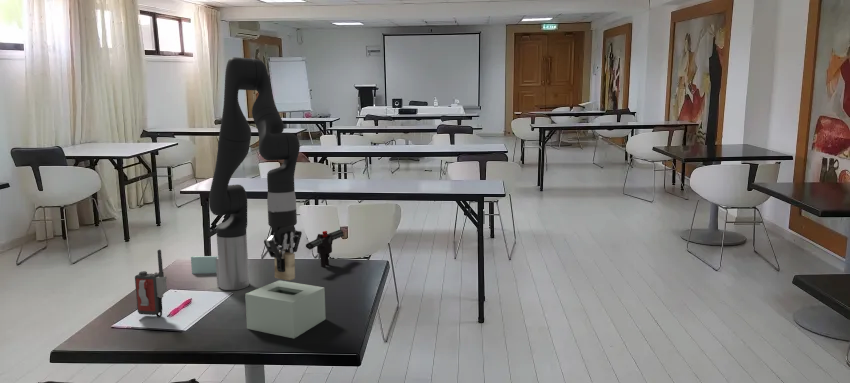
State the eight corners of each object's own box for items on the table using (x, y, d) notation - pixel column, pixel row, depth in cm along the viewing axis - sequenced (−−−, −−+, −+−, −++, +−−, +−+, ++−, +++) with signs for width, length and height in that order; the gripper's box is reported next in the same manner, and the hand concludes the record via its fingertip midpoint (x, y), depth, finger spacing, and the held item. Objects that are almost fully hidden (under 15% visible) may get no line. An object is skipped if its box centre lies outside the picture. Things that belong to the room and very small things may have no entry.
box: (247, 329, 172) (245, 293, 171) (280, 313, 185) (279, 280, 183) (294, 339, 165) (292, 302, 164) (325, 321, 177) (324, 287, 176)
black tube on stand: (347, 266, 234) (346, 226, 232) (316, 280, 217) (315, 237, 214) (335, 264, 236) (333, 225, 234) (304, 278, 219) (302, 236, 217)
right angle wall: (236, 268, 233) (235, 248, 232) (226, 277, 221) (225, 256, 220) (203, 268, 233) (202, 248, 232) (192, 278, 221) (190, 257, 220)
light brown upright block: (274, 277, 173) (274, 252, 172) (280, 275, 175) (280, 250, 174) (289, 280, 171) (289, 255, 170) (294, 278, 173) (294, 253, 172)
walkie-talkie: (170, 316, 183) (165, 248, 180) (161, 321, 179) (156, 252, 176) (143, 314, 185) (137, 247, 182) (133, 319, 180) (127, 251, 177)
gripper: (287, 202, 178) (290, 262, 180) (253, 211, 165) (256, 275, 168) (309, 204, 174) (311, 265, 177) (276, 213, 162) (279, 278, 165)
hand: (284, 270), depth 172 cm, fingers closed on light brown upright block, 2 cm apart
